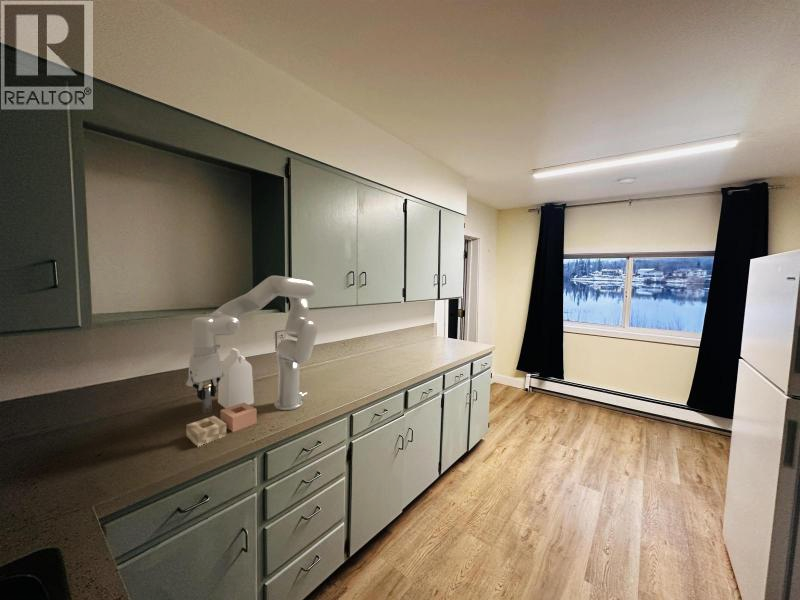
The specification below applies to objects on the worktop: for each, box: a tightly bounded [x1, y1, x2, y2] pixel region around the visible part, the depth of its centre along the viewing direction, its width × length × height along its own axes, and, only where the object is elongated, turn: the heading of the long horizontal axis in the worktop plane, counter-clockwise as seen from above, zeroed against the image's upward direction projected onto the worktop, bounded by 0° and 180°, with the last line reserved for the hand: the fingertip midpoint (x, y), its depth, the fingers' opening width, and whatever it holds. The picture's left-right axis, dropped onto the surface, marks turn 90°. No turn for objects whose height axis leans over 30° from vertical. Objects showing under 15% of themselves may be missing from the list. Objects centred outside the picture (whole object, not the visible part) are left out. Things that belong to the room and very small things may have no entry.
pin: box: [201, 381, 213, 414], centre depth 123 cm, size 4×4×11 cm
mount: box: [185, 415, 227, 448], centre depth 124 cm, size 10×10×5 cm
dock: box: [220, 403, 258, 433], centre depth 135 cm, size 10×10×6 cm
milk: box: [217, 347, 255, 409], centre depth 153 cm, size 12×12×26 cm
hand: (206, 396), depth 123 cm, fingers closed on pin, 3 cm apart
